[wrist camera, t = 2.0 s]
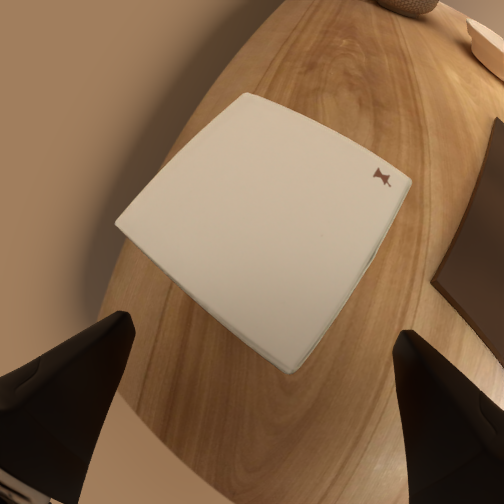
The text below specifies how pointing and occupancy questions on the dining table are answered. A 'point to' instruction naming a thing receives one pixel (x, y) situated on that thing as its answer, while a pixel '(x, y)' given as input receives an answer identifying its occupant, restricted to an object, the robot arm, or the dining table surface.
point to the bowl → (487, 47)
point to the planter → (409, 6)
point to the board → (480, 253)
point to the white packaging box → (268, 224)
